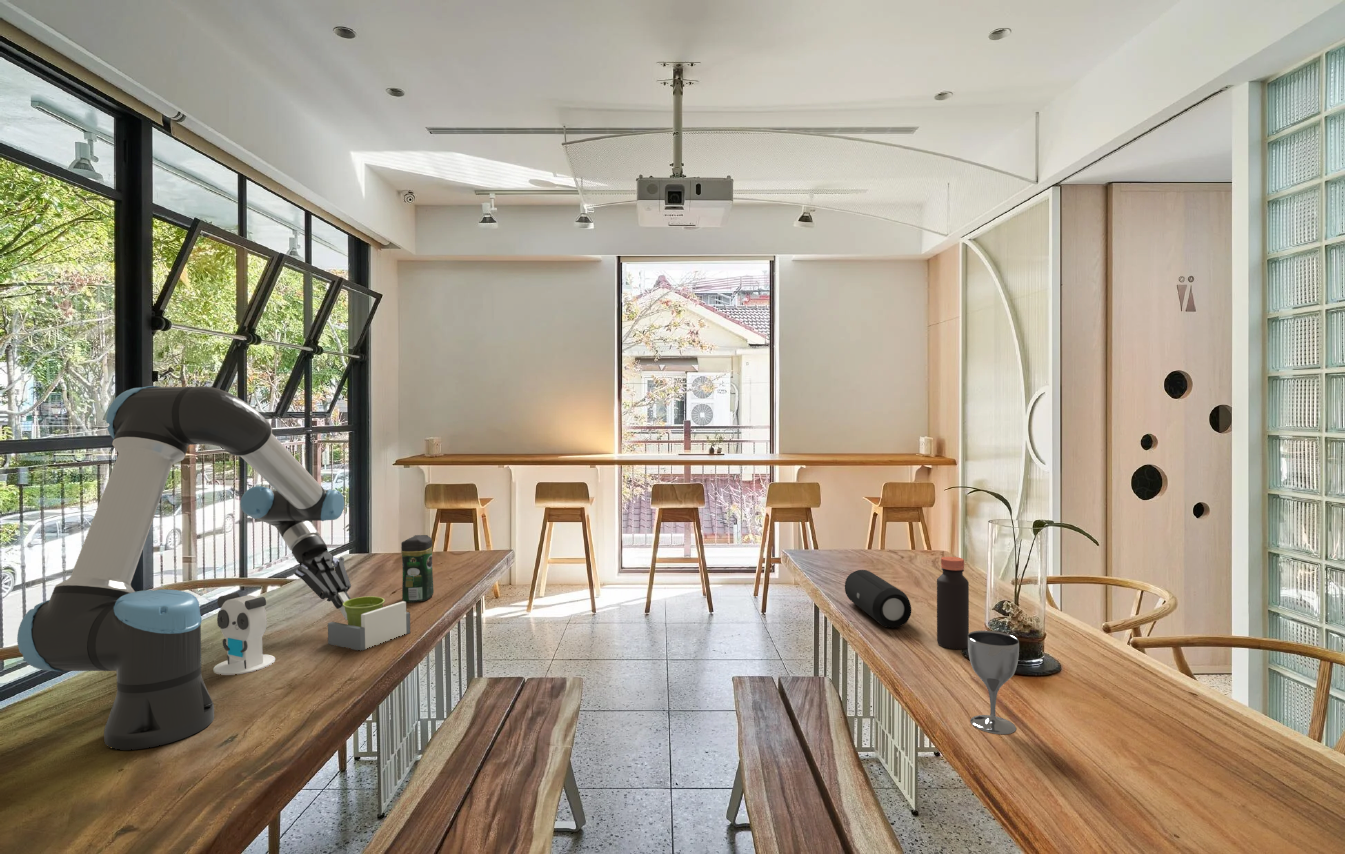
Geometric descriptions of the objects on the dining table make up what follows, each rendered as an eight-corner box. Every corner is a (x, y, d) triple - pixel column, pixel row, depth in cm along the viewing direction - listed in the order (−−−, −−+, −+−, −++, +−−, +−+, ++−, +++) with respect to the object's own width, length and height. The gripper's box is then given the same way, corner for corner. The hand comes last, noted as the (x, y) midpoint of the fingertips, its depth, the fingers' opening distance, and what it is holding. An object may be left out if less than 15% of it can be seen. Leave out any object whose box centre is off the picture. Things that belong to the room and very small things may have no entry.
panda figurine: (200, 669, 144) (198, 599, 144) (252, 652, 155) (251, 587, 154) (234, 678, 139) (232, 606, 139) (286, 660, 149) (285, 593, 149)
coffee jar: (410, 594, 204) (409, 533, 204) (436, 594, 204) (435, 533, 204) (398, 603, 194) (397, 539, 194) (425, 602, 195) (424, 538, 194)
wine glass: (975, 710, 121) (975, 627, 121) (1023, 722, 116) (1023, 636, 116) (961, 726, 115) (961, 639, 115) (1012, 740, 110) (1012, 649, 110)
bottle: (969, 642, 157) (968, 557, 157) (968, 651, 151) (968, 562, 151) (937, 638, 160) (937, 554, 160) (936, 647, 154) (935, 560, 154)
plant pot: (391, 630, 169) (391, 596, 169) (374, 643, 160) (374, 607, 160) (354, 630, 169) (353, 596, 169) (335, 643, 160) (335, 607, 160)
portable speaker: (842, 603, 191) (841, 568, 191) (875, 602, 192) (875, 567, 192) (876, 631, 166) (876, 591, 166) (915, 630, 167) (915, 590, 167)
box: (360, 650, 155) (360, 616, 155) (328, 644, 160) (327, 610, 160) (410, 632, 168) (409, 600, 168) (378, 626, 173) (378, 595, 173)
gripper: (322, 548, 181) (366, 618, 174) (274, 557, 169) (320, 633, 162) (335, 530, 179) (380, 600, 172) (288, 538, 167) (334, 613, 160)
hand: (351, 615), depth 167 cm, fingers closed
